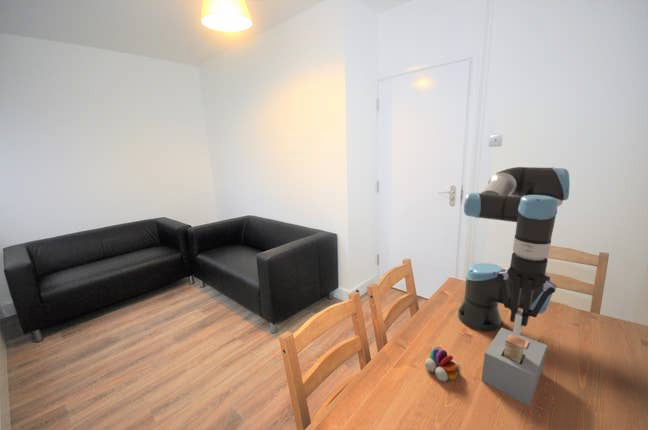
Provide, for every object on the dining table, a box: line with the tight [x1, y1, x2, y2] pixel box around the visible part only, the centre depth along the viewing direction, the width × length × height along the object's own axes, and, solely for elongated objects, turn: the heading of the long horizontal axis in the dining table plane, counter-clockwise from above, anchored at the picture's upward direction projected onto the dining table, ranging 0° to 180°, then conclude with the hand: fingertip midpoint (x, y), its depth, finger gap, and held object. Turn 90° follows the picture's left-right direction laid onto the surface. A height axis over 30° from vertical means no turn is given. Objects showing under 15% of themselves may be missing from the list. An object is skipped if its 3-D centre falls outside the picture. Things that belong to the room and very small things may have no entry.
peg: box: [503, 334, 526, 364], centre depth 80 cm, size 4×4×9 cm
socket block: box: [480, 326, 548, 407], centre depth 83 cm, size 12×16×10 cm
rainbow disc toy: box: [424, 348, 462, 382], centre depth 87 cm, size 8×10×7 cm
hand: (516, 333), depth 78 cm, fingers closed
